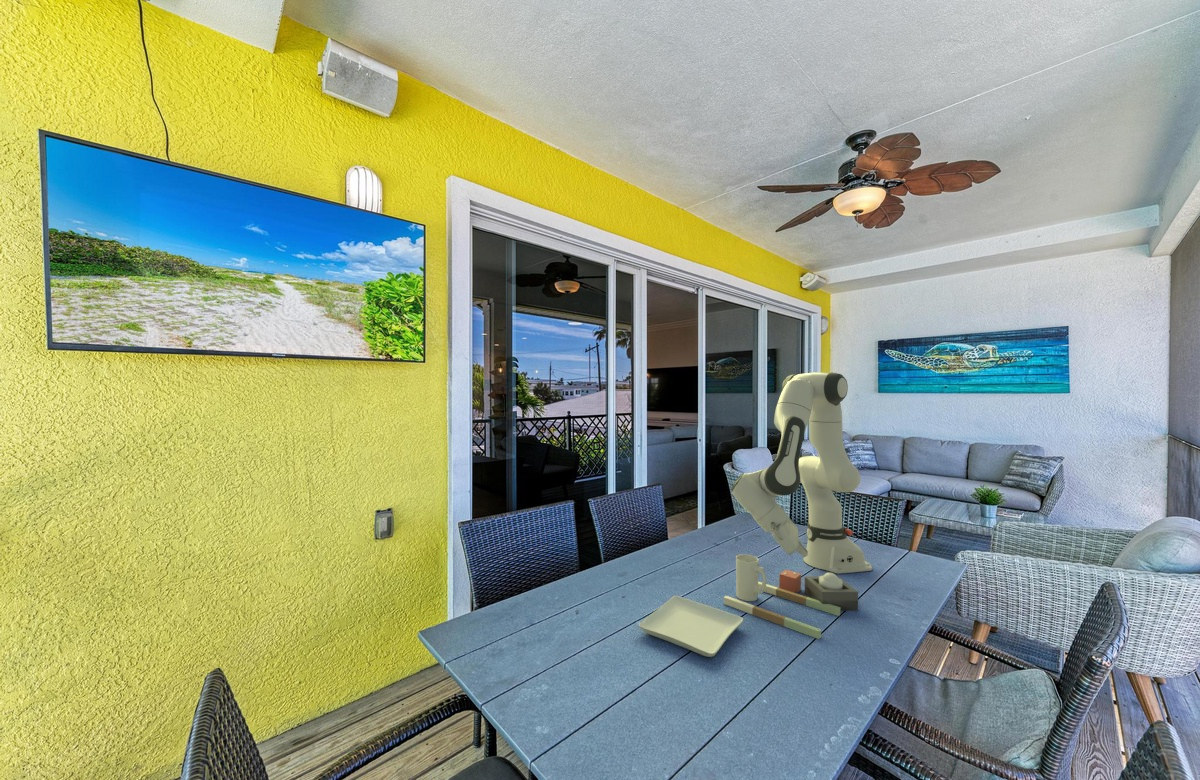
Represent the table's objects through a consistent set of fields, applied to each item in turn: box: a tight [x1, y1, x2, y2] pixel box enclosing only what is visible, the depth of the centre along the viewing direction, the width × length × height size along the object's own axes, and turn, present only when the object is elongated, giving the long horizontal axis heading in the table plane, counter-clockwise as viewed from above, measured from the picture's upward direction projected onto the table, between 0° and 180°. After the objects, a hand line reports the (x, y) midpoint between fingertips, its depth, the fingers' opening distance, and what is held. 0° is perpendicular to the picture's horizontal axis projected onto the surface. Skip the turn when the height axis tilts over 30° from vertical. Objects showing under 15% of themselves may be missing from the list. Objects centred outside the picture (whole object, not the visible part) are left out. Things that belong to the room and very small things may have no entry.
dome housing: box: [804, 576, 859, 612], centre depth 136 cm, size 11×11×6 cm
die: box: [778, 569, 802, 594], centre depth 145 cm, size 5×5×5 cm
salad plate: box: [638, 595, 744, 658], centre depth 119 cm, size 21×21×3 cm
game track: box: [723, 581, 841, 640], centre depth 132 cm, size 27×18×2 cm, turn 46°
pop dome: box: [818, 572, 843, 589], centre depth 136 cm, size 6×6×4 cm
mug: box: [735, 553, 767, 602], centre depth 138 cm, size 10×7×12 cm, turn 35°
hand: (806, 554), depth 139 cm, fingers closed
